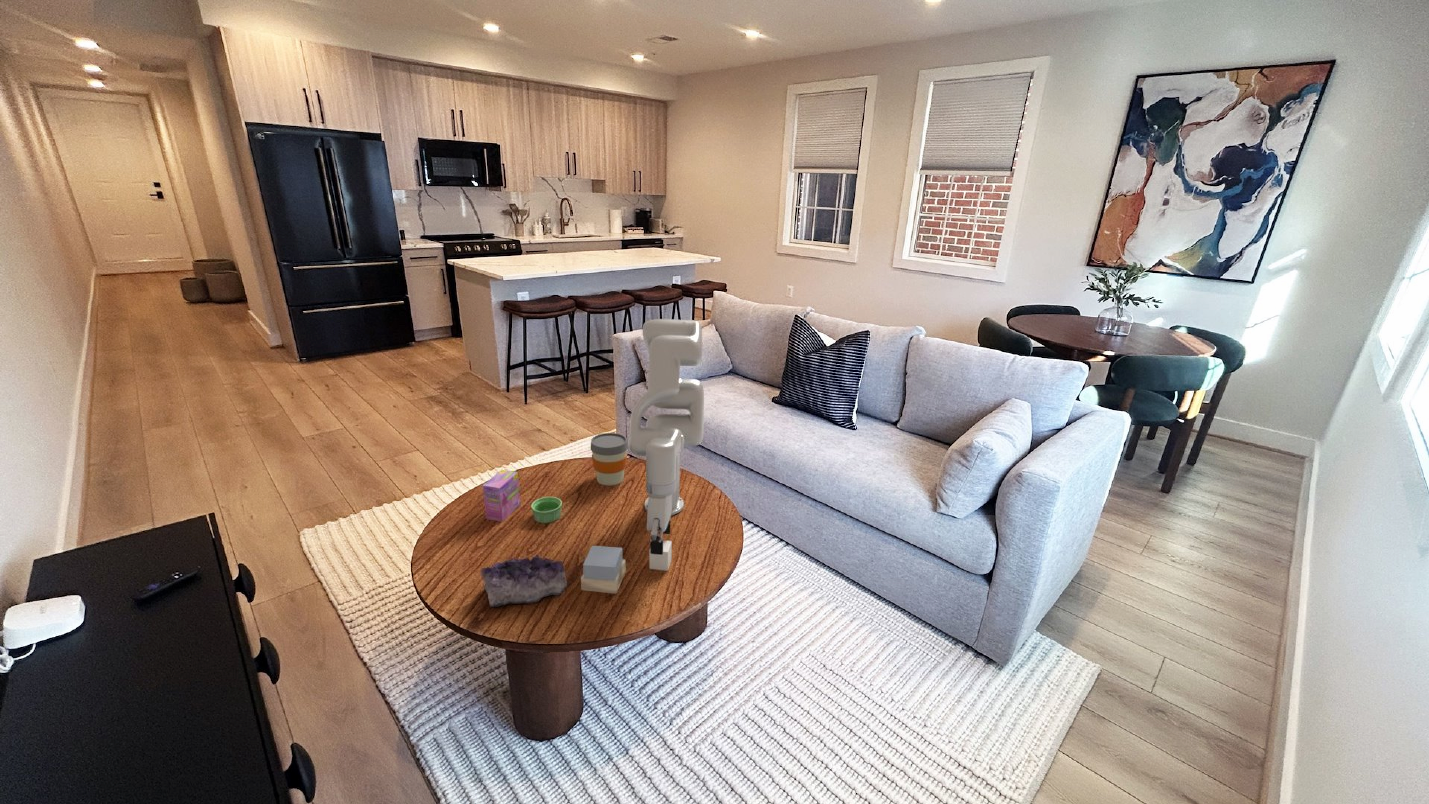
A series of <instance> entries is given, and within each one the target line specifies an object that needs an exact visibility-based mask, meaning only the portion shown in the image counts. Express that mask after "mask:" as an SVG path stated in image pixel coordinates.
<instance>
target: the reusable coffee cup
mask: <svg viewBox="0 0 1429 804" xmlns="http://www.w3.org/2000/svg"><path fill="white" fill-rule="evenodd" d="M628 448H629V442H628V438H627V437H626V436H625V435H624V434H621V433H617V432H605V433H599V434H597V435H595V436H593V437H592V438H591V440H590V451H591V453H592V454H591V460H592V465H593V469H594V471H595V474H596V481H597V482H598V484H600V485H603V486H616V485H619V484H621V483H622V482H623V481H624V476H625V469H626V467H627V461H628V452H627V451H628Z"/></svg>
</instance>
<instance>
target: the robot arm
mask: <svg viewBox="0 0 1429 804" xmlns="http://www.w3.org/2000/svg"><path fill="white" fill-rule="evenodd" d="M702 329H703V328H702V325H701V323H700V322H698V321H697V320H693V319H670V318H669V319H668V318H659V319H658V318H657V319H656V318H655V319H650V320H647V321H646V322H644V323H643V325H642V330H641V331H642V337H643V341H644V345H645V348H646V350H647V353H648V381H647V390H646V391H645V393H644V394H643V395H642V396H640V398H639V399H638V400H637V401H636V403H635V405H634V406H633V408H632V411H631V415H630V418H629V420H630V421H629V433H628V434H629V436H628V438H629V439H628V447H629V450H630V452H631V454H633V455H634V456H637V457H645V491H646V493H647V495H648V497H647V498H646V499H645V501H644V509H645V511H646V512H647V513H646V517H647V518H646V530H647V532H650V531H651V533H650V541H649V542H650V544H649V546H650V548H649V550H650V553H651V554H657V555H662V554H663V540H664V539H663V536H664V535H670V534H671V517H672V516H674V515H676V514H679V513H680V512H681V511H682V510H683V509H684V506H685V503H684V502H685V501H684V500H683V498H682V497H680V475H681V474H680V471H681V470H680V469H681V468H680V467H681V465H680V464H681V458H680V454H681V452H682V451H683V449H684V446H698V445H700V444H701V443H702V442H703V439H704V431H705V392H704V386H703V384H702V382H701V381H700V380H699V379H696V378H681V376H680V374H681V372H680V367H697V366H699V365H700V364H701V361H702V357H703V330H702ZM653 406H654V407H655V408H656V409H660V410H678V411H679V410H680V411H681V410H684V411H685V410H686V411H688V413H682V414H681V413H657V414H654V415H651V416H650V417H648V419H647V421H646V422H645V423H646V424H645V426H644V427H643V426H642V427H641V421H642V417H643V415H644V413H645V412H646V411H647V410H648V409H649V408H651V407H653ZM658 534H659V535H658Z"/></svg>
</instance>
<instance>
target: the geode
mask: <svg viewBox="0 0 1429 804" xmlns="http://www.w3.org/2000/svg"><path fill="white" fill-rule="evenodd" d="M480 575H481V577H482V579H483V587H484V589H485V592H486V594H487V595H488V596H487V597H488V602H489V607H490V608H498V607H502V606H506V605H509V604H515V605H520V604H536V603H538V602H539V601H542V599H543V598H546V597H549V596H561V595H562V593H563V592H565V591H566V590H567V587H568V582H567V580H566V571H565V566H564V563H563V561H562V560H558V561H557V560H555V561H554V560H553V559H550V558H546V557H544V558H543V557H539V554H536V555H535V556H533V557H532V559H530V558H529V557H525V558H515V559H514V558H513V557H511V558H510V559H508V560H504V561H503V562H496V563H493V566H488V567H482V568H481V570H480Z"/></svg>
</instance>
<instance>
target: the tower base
mask: <svg viewBox="0 0 1429 804" xmlns="http://www.w3.org/2000/svg"><path fill="white" fill-rule="evenodd" d="M626 563H627V562H626V559H624V558H623V561H622V564H621V566H620V569H619V572H618V575H617V578H616V580H601V579H588V578H584V573H582V575H581V577H580V585H581V586H580V588H581V589H580V590H581V591H589V592H598V593H604V594H615V595H616V594H618V591H619V588H620V586H621V584H622V581H623V579H624V577H625V574H626V572H627V569H626Z"/></svg>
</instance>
